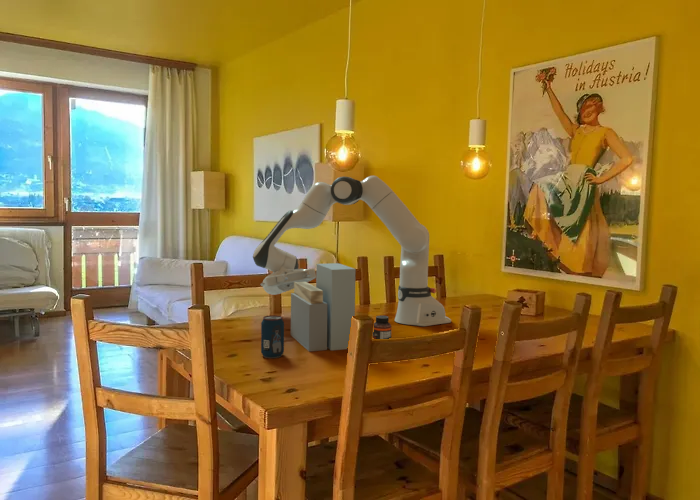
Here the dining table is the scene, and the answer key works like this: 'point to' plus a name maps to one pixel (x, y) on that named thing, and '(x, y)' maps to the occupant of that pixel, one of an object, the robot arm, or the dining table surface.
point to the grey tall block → (337, 301)
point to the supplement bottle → (382, 328)
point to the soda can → (272, 336)
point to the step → (309, 323)
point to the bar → (308, 292)
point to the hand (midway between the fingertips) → (297, 275)
